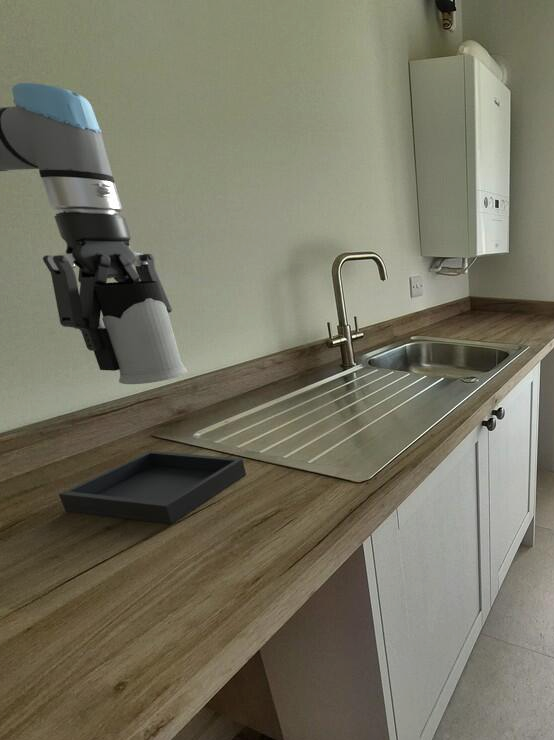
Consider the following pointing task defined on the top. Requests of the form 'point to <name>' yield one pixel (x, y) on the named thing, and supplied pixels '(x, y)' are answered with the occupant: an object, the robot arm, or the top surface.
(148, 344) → the black and white mug
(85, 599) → the top surface
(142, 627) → the top surface
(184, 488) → the tray
